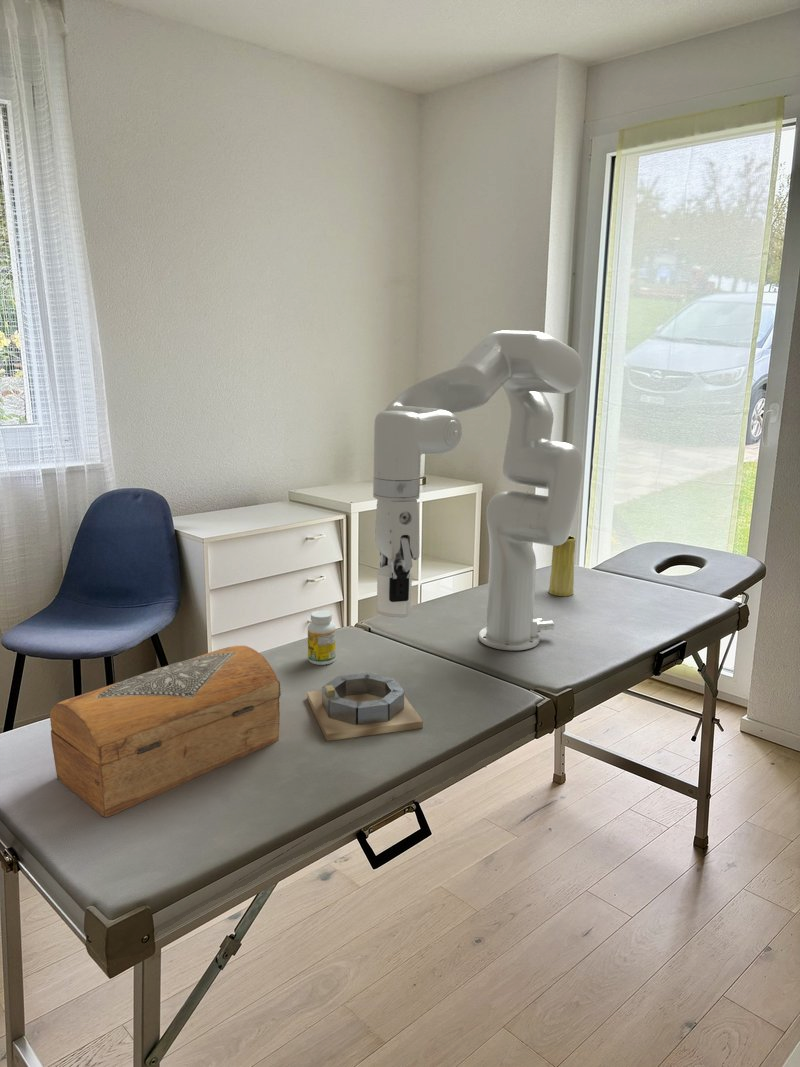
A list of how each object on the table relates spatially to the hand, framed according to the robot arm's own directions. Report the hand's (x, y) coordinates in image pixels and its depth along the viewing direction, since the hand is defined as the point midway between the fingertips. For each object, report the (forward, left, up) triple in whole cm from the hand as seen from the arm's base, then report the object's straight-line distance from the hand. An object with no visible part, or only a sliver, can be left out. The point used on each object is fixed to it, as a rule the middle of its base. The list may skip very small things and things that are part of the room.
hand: (393, 595), depth 137 cm
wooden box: (+37, +7, -21) cm, 43 cm away
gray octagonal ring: (+6, +1, -19) cm, 20 cm away
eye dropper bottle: (0, 0, -4) cm, 4 cm away
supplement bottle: (+8, -23, -20) cm, 32 cm away
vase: (-58, -49, -20) cm, 79 cm away
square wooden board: (+6, +1, -20) cm, 21 cm away
